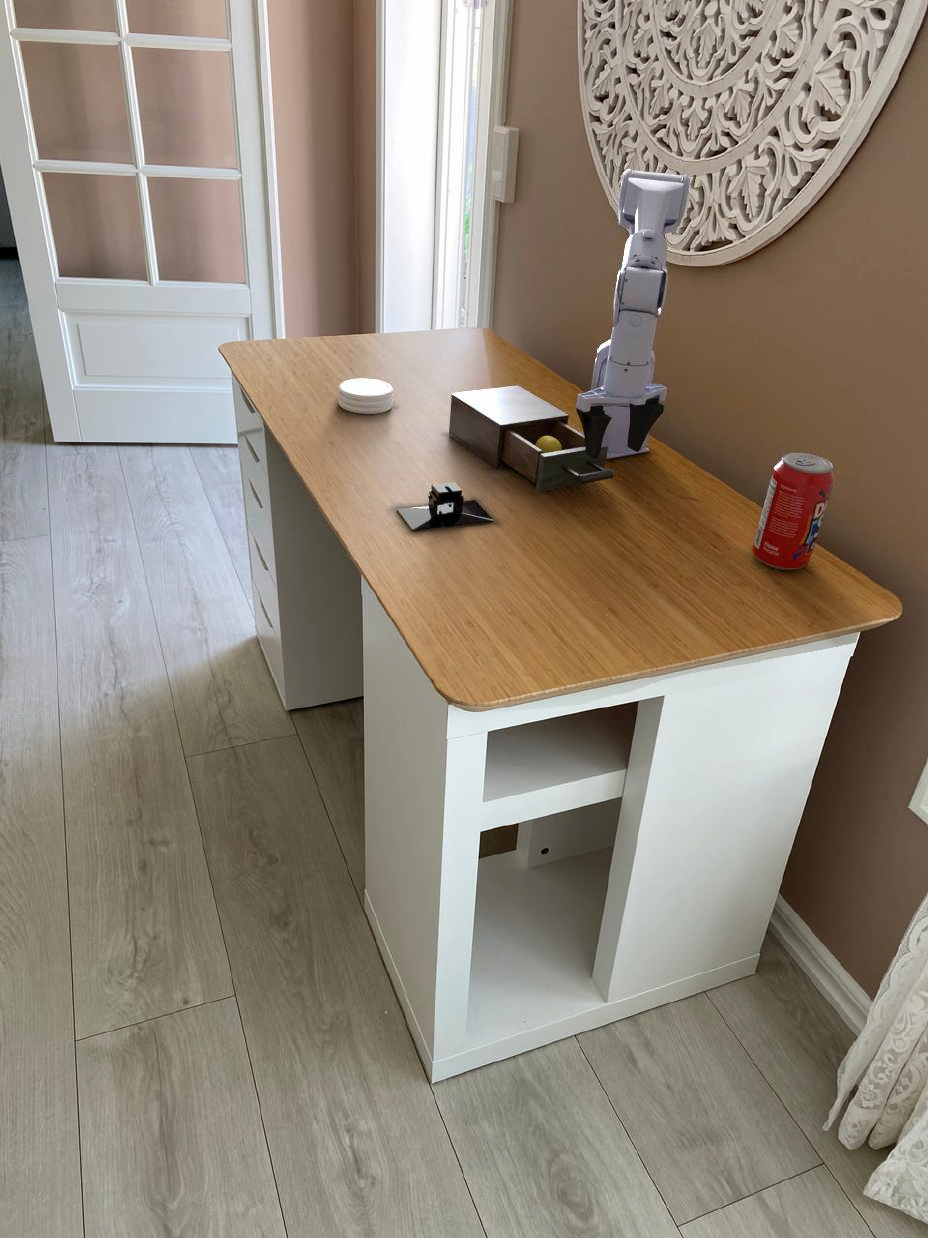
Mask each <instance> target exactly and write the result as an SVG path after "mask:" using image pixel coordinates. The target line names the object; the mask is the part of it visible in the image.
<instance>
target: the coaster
mask: <svg viewBox="0 0 928 1238" xmlns="http://www.w3.org/2000/svg"><path fill="white" fill-rule="evenodd" d="M337 391H338V393H337V398H338V399H337V403H338V405H339V407H340V408H341V409H343V410H345V411H347V412H350V413H353V414H361V415H376V414H377V415H378V414H383V413H386V412H388V411H389V410H391V409H392V408H393V405H394V401H393V400H394V387H392V385H390V384H389V383H387V382H385V381H382V380H379V379H373V378H353V379H348V380H344V381H343V382H341V383H340V384H338V387H337Z"/></svg>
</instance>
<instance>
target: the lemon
mask: <svg viewBox="0 0 928 1238" xmlns="http://www.w3.org/2000/svg"><path fill="white" fill-rule="evenodd" d="M535 446H536V447H538V448H539V449H541V450H542V451H543V453H542V454H544V453H550V452H556V451H562V446H561V444H560V442H559V441H558V440H557V439H555V438H554V437H551V436H543V437H541V438H540V439H539V440H538V441H537V442H536V444H535Z"/></svg>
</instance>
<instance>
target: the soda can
mask: <svg viewBox="0 0 928 1238" xmlns="http://www.w3.org/2000/svg"><path fill="white" fill-rule="evenodd" d="M833 468H834V465H833V463H832V462H830V460H828V459H827V458H824V457H822V456H819V455H816V454H813V453H808V452H801V451H799V452H798V451H792V452H791V451H790V452H787V453H784V454H783V455H782V457H781V460H780V461H779V462H778V463H776V464H775V465H774V467H773V470H772V473H771V477H770V481H769V485H768V489H767V492H766V496H765V500H764V502H763V503H764V504H763V507H762V511H761V514H760V518H759V521H758V526H757V529H756V532H755V537H754V541H753V544H752V554H753V556H755V558H756V559H757V560H758V561H760V562H761V563H762V564H763V565H766V566H768V567H770V568H773V569H775V570H780V571H794V570H799V569H802V568H805V567H806V566H808V564H809V563H810V560H811V558H812V555H813V551H814V548H815V545H816V542H817V538H818V535H819V533H820V529H821V526H822V523H823V518H824V516H825V513H826V510H827V507H828V503H829V500H830V497H831V494H832V490H833V488H834V484H835V475H834V473H833Z"/></svg>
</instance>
